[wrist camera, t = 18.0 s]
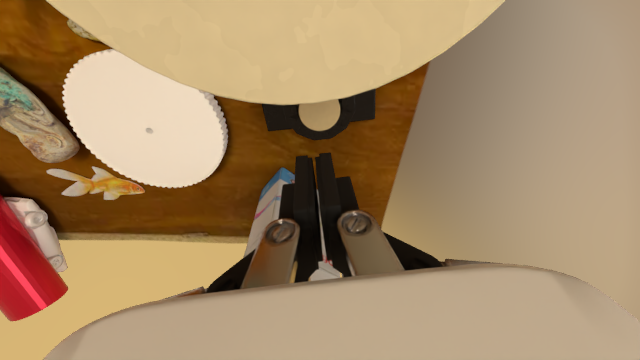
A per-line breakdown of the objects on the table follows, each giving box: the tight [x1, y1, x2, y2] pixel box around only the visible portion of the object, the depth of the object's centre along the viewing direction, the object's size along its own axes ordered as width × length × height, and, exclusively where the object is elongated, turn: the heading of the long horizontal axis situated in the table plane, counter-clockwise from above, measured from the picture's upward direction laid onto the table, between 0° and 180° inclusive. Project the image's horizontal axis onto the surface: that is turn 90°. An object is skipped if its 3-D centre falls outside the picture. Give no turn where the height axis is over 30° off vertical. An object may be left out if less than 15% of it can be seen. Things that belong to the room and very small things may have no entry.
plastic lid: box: [62, 49, 228, 188], centre depth 25 cm, size 14×14×2 cm
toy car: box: [3, 197, 68, 272], centre depth 32 cm, size 6×12×3 cm, turn 175°
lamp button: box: [299, 99, 340, 131], centre depth 22 cm, size 4×4×2 cm
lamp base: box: [262, 89, 375, 140], centre depth 21 cm, size 15×11×4 cm
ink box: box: [244, 167, 340, 281], centre depth 27 cm, size 9×5×12 cm, turn 49°
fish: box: [47, 167, 145, 200], centre depth 30 cm, size 10×1×5 cm
